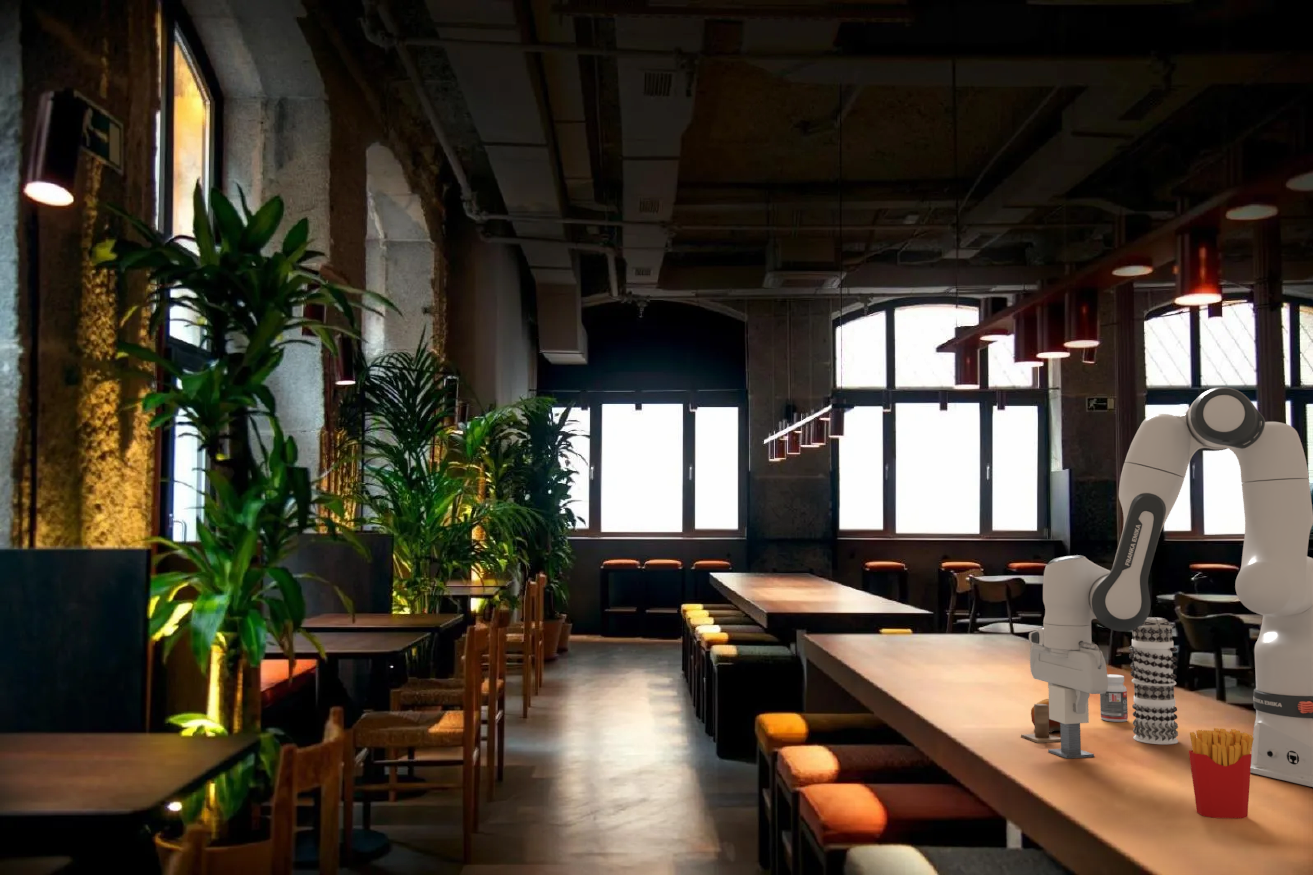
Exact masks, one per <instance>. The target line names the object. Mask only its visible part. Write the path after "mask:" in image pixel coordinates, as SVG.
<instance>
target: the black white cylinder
mask: <svg viewBox="0 0 1313 875" xmlns="http://www.w3.org/2000/svg"><path fill="white" fill-rule="evenodd" d="M1173 628H1174V625H1171V624H1170V622H1169V620H1168V619H1167V618H1165V617H1164V618H1163V617H1155V616H1154V617H1152V616H1151V617H1150V616H1148V617H1147V619H1146V620H1145V622H1144V623H1143V624H1142V625H1140V626H1139V627H1137V628H1135V629H1133V630H1131V631H1132V632H1131V633H1132V639H1131V645H1130V646H1129V647H1128V651H1129V652H1130V654H1129V655H1128V657H1129V659H1130V660H1132V662H1131V663H1129V664H1130V665H1129V666H1130V669H1132V670H1131V671H1130V676H1131V677H1133V678H1132V679H1131V683H1133V687H1134V688H1133V689H1134V690H1133V692H1134V694H1133V704H1132V709H1133V710H1135V711H1133V712H1132V716H1133V717H1135V719H1133V721H1132V725H1133V726H1134V728H1133V730H1132V732H1133V734H1134V735H1133V740H1134V741H1137V742H1139V743H1144V744H1152V745H1174V744H1178V743H1179V739H1178V738H1177V737H1178V736H1179V732H1178V728H1179V726H1178V723H1177V722H1176V721H1175V720H1177V719H1178V715H1177V714H1175V713H1176V712H1177V711H1178V708H1177V706H1176V704H1177V703H1176V698H1175V688H1174V687H1175V685H1177V682H1176V681H1175V680H1176V679H1177V676H1178V675H1176V674H1174V671H1175V669H1177V668H1178V666H1177V665H1176V664H1174V663H1175V662H1177V661H1178V657H1176V656H1174V655H1173V653H1176V652H1177V651H1178V648H1177V647H1175V646H1174V640H1173Z"/></svg>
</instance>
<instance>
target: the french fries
mask: <svg viewBox="0 0 1313 875" xmlns="http://www.w3.org/2000/svg"><path fill="white" fill-rule="evenodd" d="M1189 736H1190V743H1191V747H1192V748H1191V750H1188V755H1189V764H1190V770H1191V778H1192V785H1193V786H1192V787H1193V792H1194V794H1193V795H1194V801H1195V807H1196V813H1197V814H1199V815H1200V816H1202V817H1208V818H1211V819H1212V818H1213V819H1214V818H1215V819H1245V818H1247V817H1248V814H1249V802H1250V801H1249V799H1250V798H1249V797H1250V785H1251V784H1250V782H1251V773H1250V771H1251V756H1252V754H1251V752H1252V743H1253V740H1254V738H1253V734H1249V733H1248V732H1241V731H1240V730H1236V729H1235V728H1231V729H1230V730H1229V731H1227V729H1226V728H1217V727H1214V728H1213V730H1206V729H1205V730H1203V729H1197V730H1196V734H1195V732H1194V731H1192V732H1189Z"/></svg>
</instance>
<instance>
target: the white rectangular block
mask: <svg viewBox="0 0 1313 875" xmlns="http://www.w3.org/2000/svg"><path fill="white" fill-rule="evenodd" d="M1048 699H1049V719H1051V720H1054V721H1057V722H1060V723H1063V724H1076V723H1080V724H1089V722H1090V720H1089V719H1090V718H1089V715H1090V714H1089V700H1088V701H1087V703H1086V704H1085V706H1086V712H1085V713H1084V714H1078V713H1075V712H1073V703H1076V700H1077V695H1076V690H1075V689H1071V688H1067V687H1064V686H1060V685H1049V688H1048Z"/></svg>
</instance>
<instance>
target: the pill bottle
mask: <svg viewBox="0 0 1313 875" xmlns="http://www.w3.org/2000/svg"><path fill="white" fill-rule="evenodd" d="M1107 677H1108V689H1107V691H1106V693H1104V694H1099V697H1100V698H1099V701H1100V702H1099V706H1100V719H1101V721H1102V720H1103V721H1106V722H1111V723H1112V722H1113V723H1124V722H1127V721H1128V720H1129V715H1128V714H1129V712H1128V690H1127V687H1126V686H1125V685H1124V683H1125V676H1124V675H1121V674H1110V673H1109V674H1108V673H1107Z"/></svg>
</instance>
